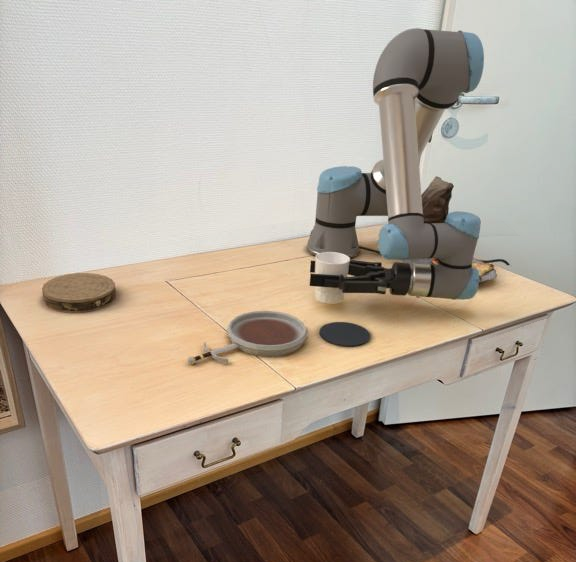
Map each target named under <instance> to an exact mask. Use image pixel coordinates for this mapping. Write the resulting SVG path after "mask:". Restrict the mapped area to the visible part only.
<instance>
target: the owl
mask: <svg viewBox="0 0 576 562" xmlns="http://www.w3.org/2000/svg"><path fill="white" fill-rule="evenodd" d="M454 188H455V186H454V184H453V183H452V182H448V181H445V180H443V179H442V178H441V176H440V177H439V176H435V177H434V178H433V180H432V181H431V182H430V183H429V184H428V186H427V188H425V190H424V191H423V192H421V197H422V210H423V220H424V223H426V224H427V223H445V220H446V218H447V215H448V214H449V213H450V211H449V209H450V207H449V206H450V201H451V199H452V197H453V196H452V195H453V193H452V192H453V189H454Z"/></svg>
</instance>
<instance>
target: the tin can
mask: <svg viewBox="0 0 576 562" xmlns="http://www.w3.org/2000/svg"><path fill="white" fill-rule="evenodd" d="M41 293H42V298H43V302H44V305H45V307H48V308H49V309H51V310H53V311H56V312H61V313H69V314H77V313H89V312H94V311H97V310H101V309H104V308H106V307H108V306H110V305H111V304H113V303H114V302H115V301H116V298H117V291H116V283H115V281H114V280H113V278H111V277H108V276H106V275H102V274H99V273H92V272H91V273H90V272H76V273H70V274H69V273H68V274H63V275H60V276H55V277H54V278H51V279H49V280H48V281H46V282H45V283H44V284H43V285H42V288H41Z"/></svg>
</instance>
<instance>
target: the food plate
mask: <svg viewBox="0 0 576 562" xmlns="http://www.w3.org/2000/svg"><path fill="white" fill-rule="evenodd" d="M481 260H482V259H478V258H475V257H473V259H472V267H474V268H477V270H478V272H479V284H480V283H484V282H487V281H490V280H494V279H497V277H498V273H497V270H496V269H495V264H493V263H484V262H482V261H481ZM403 263H409V264H410V265H411V264H413V263H421V264H432V265H437V264H438V258H432V259H408V260H403Z"/></svg>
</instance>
